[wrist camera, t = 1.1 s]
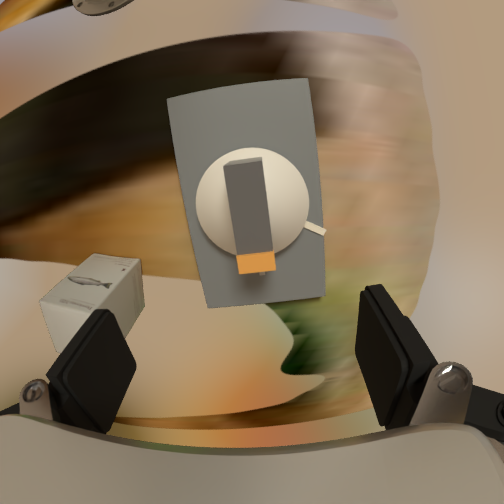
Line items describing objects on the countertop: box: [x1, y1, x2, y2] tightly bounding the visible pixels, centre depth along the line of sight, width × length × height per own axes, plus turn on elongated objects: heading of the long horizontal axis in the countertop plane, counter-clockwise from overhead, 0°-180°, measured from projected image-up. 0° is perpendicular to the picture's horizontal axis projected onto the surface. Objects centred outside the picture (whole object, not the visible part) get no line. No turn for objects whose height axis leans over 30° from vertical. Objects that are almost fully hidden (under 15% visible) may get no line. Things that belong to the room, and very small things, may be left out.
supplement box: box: [39, 253, 145, 354], centre depth 29 cm, size 7×7×13 cm
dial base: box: [167, 78, 326, 308], centre depth 29 cm, size 24×14×2 cm, turn 8°
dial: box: [196, 147, 309, 274], centre depth 25 cm, size 11×11×7 cm
